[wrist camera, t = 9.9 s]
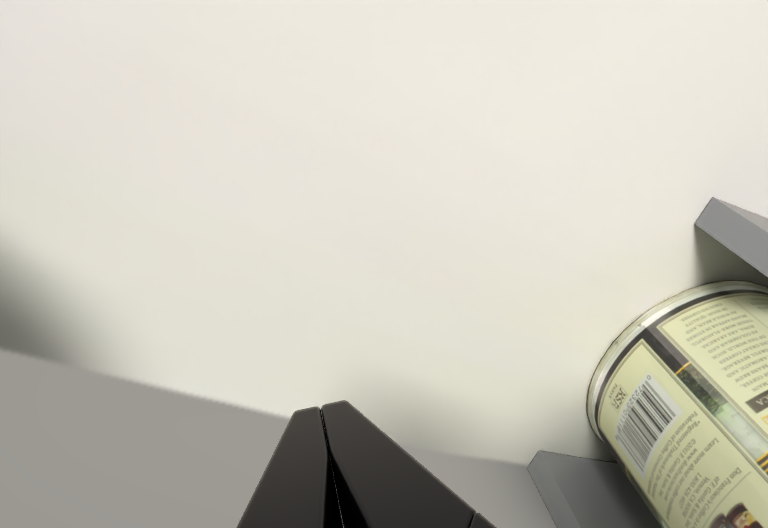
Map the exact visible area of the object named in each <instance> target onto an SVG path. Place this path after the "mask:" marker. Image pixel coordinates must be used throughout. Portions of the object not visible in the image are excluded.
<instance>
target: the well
mask: <svg viewBox="0 0 768 528" xmlns="http://www.w3.org/2000/svg"><path fill="white" fill-rule="evenodd" d="M695 225H696V226H698V227H699V228H701V229H702V230H703V231H705V232H706V233H707V234H709V235H710V236H712V237H713V238H714V239H716V240H717V241H718V242H720V243H721V244H723V245H724V246H725V247H727V248H728V249H729V250H731V251H732V252H734V253H735V254H736V255H738V256H739V257H740V258H742V259H743V260H745V261H746V262H747V263H749V264H750V265H751V266H753V267H754V268H756V269H757V270H758V271H760V272H761V273H762V274H764V275H765V276H767V277H768V219H767V218H764V217H762V216H759V215H757V214H754V213H752V212H749V211H747V210H744V209H742V208H739V207H737V206H734V205H731V204H729V203H726V202H724V201H721V200H719V199H716V198H714V197H713V198H712V199H711V201H710V202H709V203H708V205H707V206H706V208H705V209H704V211H703V212H702V214H701V215H700V217H699V218H698V220H697V221H696V222H695ZM527 469H528V472H529V473H530V475H531V477H532V479H533V481H534V483H535V485H536V487H537V489H538V491H539V493H540V495H541V497H542V499H543V501H544V503H545V505H546V507H547V509H548V511H549V513H550V515H551V517H552V519H553V521H554V523H555V525H556V527H557V528H662V527H661V526H660V524H659V523H658V521H657V520H656V518H655V517H654V515H653V514H652V512H651V511H650V510H649V508H648V507H647V505H646V504H645V502H644V501H643V499H642V498H641V496H640V494H639V493H638V492H637V490H636V489H635V487H634V486H633V484H632V483H631V481H630V480H629V479H628V477H627V476H626V474H625V473H624V471H623V470H622V469H621V467H620V465H619V464H618V463H611V462H605V461H599V460H593V459H587V458H581V457H575V456H569V455H563V454H556V453H550V452H544V451H538V453H537V454H536V456H535V457H534V459H533V460H532V462H531V463H530V465H529V466H528V467H527Z"/></svg>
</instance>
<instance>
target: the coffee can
mask: <svg viewBox="0 0 768 528" xmlns="http://www.w3.org/2000/svg"><path fill="white" fill-rule="evenodd" d="M587 412H588V416H589V419H590V422H591V425H592V428H593V430H594V431H595V433H596V434H597V435H598V437H599V438H600V439H601V440H602V441H603V442H604V443H605V445H606V446H607V448H608V449H609V451H610V452H611V454H612V455H613V457H614V458H615V459H616V461H617V462H618V464H619V465H620V467H621V469H622V470H623V471H624V473H625V474H626V476H627V477H628V479H629V480H630V481H631V483H632V484H633V486H634V487H635V489H636V490H637V492H638V493H639V494H640V496H641V498H642V499H643V501H644V502H645V504H646V505H647V507H648V508H649V510H650V511H651V512H652V514H653V515H654V517H655V518H656V520H657V521H658V523H659V524H660V526H661V527H662V528H768V288H767V287H765V286H762V285H758V284H754V283H751V282H746V281H722V282H715V283H710V284H705V285H702V286H699V287H695V288H691V289H688V290H686V291H684V292H682V293H680V294H678V295H676V296H674V297H672V298H669V299H667V300H665V301H664V302H662V303H660V304H658V305H656V306H654V307H653V308H651V309H650V310H648V311H647V312H646V313H644V314H643V315H642V316H641V317H640V318H638V319H637V320H636V321H634V322H633V323H632V324H631V325H630V326H629V327H627V328H626V329H625V330H624V331H623V332H622V334H621V335H620V336H619V337H618V338H617V339H616V340H615V341H614V342H613V343H612V345H611V346H610V348H609V349H608V351H607V352H606V354H605V355H604V357H603V358H602V360H601V362H600V363H599V365H598V367H597V369H596V371H595V373H594V376H593V378H592V381H591V384H590V388H589V393H588V409H587Z"/></svg>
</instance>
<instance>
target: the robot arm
mask: <svg viewBox="0 0 768 528" xmlns="http://www.w3.org/2000/svg"><path fill="white" fill-rule="evenodd" d="M321 412H322V414H321ZM322 417H323V419H322ZM323 423H324V424H323ZM324 428H325V429H324ZM325 433H326V434H325ZM326 438H327V439H326ZM330 459H331V460H330ZM331 464H332V465H331ZM333 475H334V476H333ZM334 480H335V481H334ZM335 485H336V486H335ZM336 490H337V491H336ZM337 495H338V497H337ZM338 500H339V502H338ZM339 506H340V507H339ZM340 511H341V513H340ZM341 516H342V518H341ZM342 521H343V523H342ZM343 526H344V528H496V527H495V526H494V525H493V524H491V523H490V522H489V521H488V520H487V519H486V518H484V517H483V516H482V515H481V514H480V513H476V511H475V510H474V509H473V508H472V507H470V506H469V505H468V504H467V503H466V502H465V501H463V500H462V499H461V498H460V497H459V496H458V495H456V494H455V493H454V492H453V491H452V490H450V489H449V488H448V487H447V486H446V485H445V484H443V483H442V482H441V481H440V480H439V479H438V478H436V477H435V476H434V475H433V474H432V473H431V472H429V471H428V470H427V469H426V468H425V467H424V466H422V465H421V464H420V463H419V462H418V461H417V460H415V459H414V458H413V457H412V456H411V455H410V454H408V453H407V452H406V451H405V450H404V449H403V448H401V447H400V446H399V445H398V444H397V443H395V442H394V441H393V440H392V439H391V438H390V437H388V436H387V435H386V434H385V433H384V432H383V431H381V430H380V429H379V428H378V427H377V426H376V425H374V424H373V423H372V422H371V421H370V420H369V419H367V418H366V417H365V416H364V415H363V414H362V413H360V412H359V411H358V410H357V409H356V408H354V407H353V406H352V405H351V404H350V403H349V402H347V401H345V400H343V401H338V402H334V403H329V404H325V405H323V406H322V408H321V410H320V408H319V407H311V408H307V409H302V410H298V411H295V412H294V413H293V415H292V417H291V419H290V421H289V423H288V425H287V427H286V429H285V431H284V433H283V435H282V437H281V439H280V441H279V443H278V445H277V447H276V449H275V451H274V453H273V455H272V457H271V459H270V461H269V463H268V465H267V467H266V469H265V471H264V473H263V475H262V478H261V480H260V482H259V484H258V486H257V488H256V490H255V492H254V494H253V496H252V498H251V500H250V502H249V504H248V506H247V508H246V510H245V512H244V514H243V516H242V518H241V520H240V522H239V524H238V526H237V528H343Z"/></svg>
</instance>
